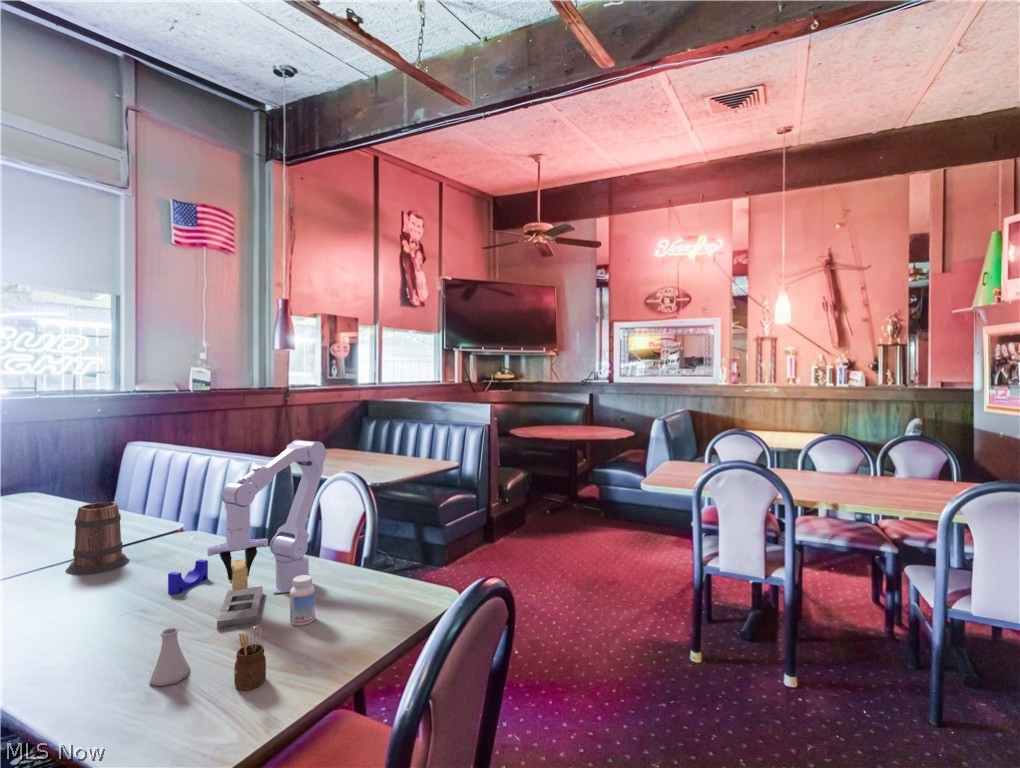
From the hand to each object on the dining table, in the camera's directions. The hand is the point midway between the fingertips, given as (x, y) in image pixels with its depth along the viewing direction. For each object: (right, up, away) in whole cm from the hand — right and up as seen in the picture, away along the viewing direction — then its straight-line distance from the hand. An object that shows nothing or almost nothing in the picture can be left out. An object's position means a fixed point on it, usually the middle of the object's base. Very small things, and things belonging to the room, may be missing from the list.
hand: (238, 577), depth 145 cm
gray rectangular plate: (+1, -9, 0) cm, 9 cm away
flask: (+2, -10, -32) cm, 33 cm away
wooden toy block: (0, -2, 0) cm, 2 cm away
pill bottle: (+20, -10, -6) cm, 23 cm away
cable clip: (-24, -9, +16) cm, 30 cm away
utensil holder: (+20, -10, -34) cm, 40 cm away
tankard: (-65, -8, +33) cm, 73 cm away
